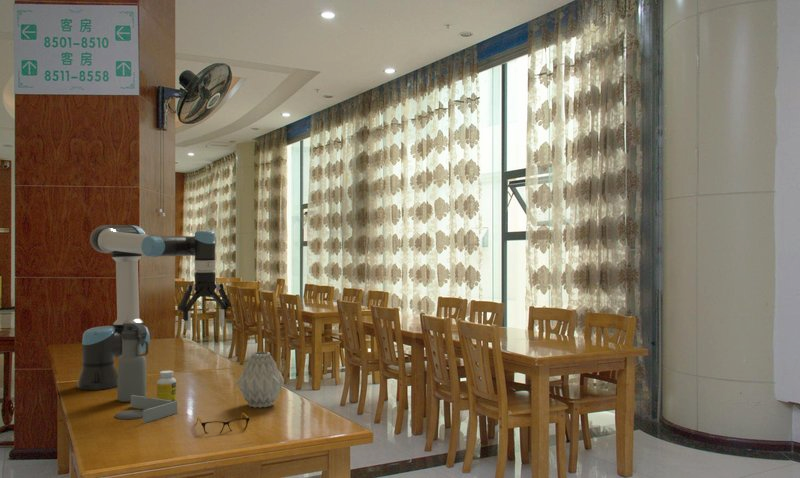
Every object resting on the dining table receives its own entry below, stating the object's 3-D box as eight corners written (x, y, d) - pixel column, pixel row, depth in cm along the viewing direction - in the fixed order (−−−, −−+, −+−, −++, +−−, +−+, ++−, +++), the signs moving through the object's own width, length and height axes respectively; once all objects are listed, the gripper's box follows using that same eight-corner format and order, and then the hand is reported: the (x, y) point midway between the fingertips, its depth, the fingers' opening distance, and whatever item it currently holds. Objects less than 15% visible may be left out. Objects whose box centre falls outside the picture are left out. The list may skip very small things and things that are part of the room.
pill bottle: (170, 407, 237) (170, 373, 237) (153, 406, 238) (153, 373, 238) (179, 402, 244) (179, 370, 244) (163, 401, 245) (163, 369, 245)
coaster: (107, 417, 224) (107, 415, 224) (134, 409, 234) (134, 408, 234) (131, 421, 219) (131, 419, 219) (157, 413, 229) (157, 412, 229)
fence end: (142, 422, 217) (142, 410, 217) (175, 412, 229) (175, 401, 229) (144, 423, 216) (144, 410, 216) (177, 413, 229) (177, 401, 229)
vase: (244, 413, 229) (244, 358, 229) (232, 402, 243) (232, 351, 243) (290, 407, 236) (290, 354, 236) (276, 397, 251) (276, 348, 251)
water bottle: (152, 397, 252) (152, 322, 252) (134, 403, 242) (134, 325, 242) (130, 395, 255) (130, 321, 255) (111, 401, 246) (111, 324, 246)
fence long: (130, 406, 237) (130, 395, 237) (132, 406, 238) (132, 395, 238) (170, 413, 229) (170, 401, 229) (172, 412, 230) (172, 400, 230)
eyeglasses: (202, 436, 203) (202, 423, 203) (196, 424, 217) (196, 411, 217) (249, 430, 209) (249, 417, 209) (241, 419, 222) (241, 407, 222)
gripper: (177, 273, 245) (177, 331, 245) (239, 271, 262) (239, 325, 261) (168, 272, 251) (169, 329, 251) (230, 270, 267) (230, 324, 267)
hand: (205, 327), depth 256 cm, fingers open, 13 cm apart
